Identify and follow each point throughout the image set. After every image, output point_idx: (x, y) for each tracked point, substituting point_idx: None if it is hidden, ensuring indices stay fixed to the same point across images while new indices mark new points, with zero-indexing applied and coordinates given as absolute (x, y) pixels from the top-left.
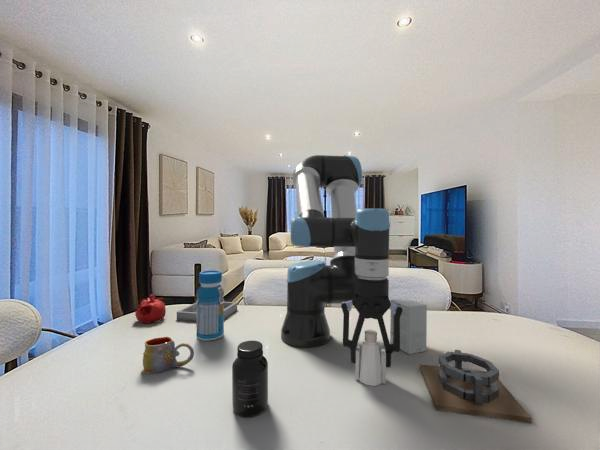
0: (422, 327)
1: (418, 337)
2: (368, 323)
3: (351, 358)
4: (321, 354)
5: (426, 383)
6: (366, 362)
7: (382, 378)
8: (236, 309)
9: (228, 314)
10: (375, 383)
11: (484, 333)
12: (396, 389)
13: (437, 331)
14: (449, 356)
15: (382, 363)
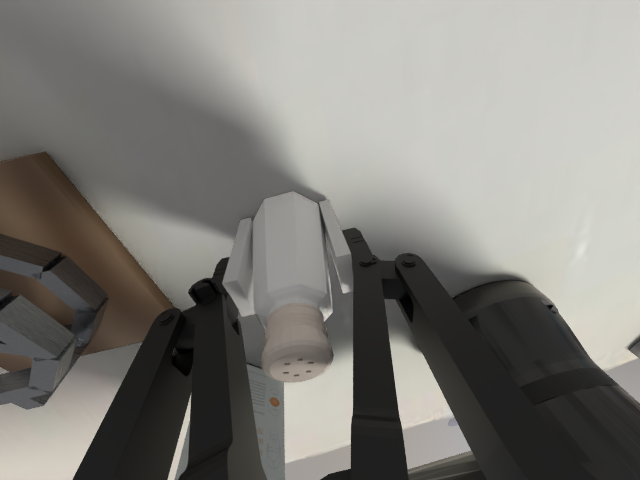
0: (188, 450)
1: None
2: (343, 411)
3: (359, 238)
4: None
5: (132, 265)
6: (299, 233)
7: (248, 224)
8: (633, 350)
9: None
10: (265, 201)
11: None
12: (204, 209)
13: None
14: (32, 372)
15: (242, 254)
